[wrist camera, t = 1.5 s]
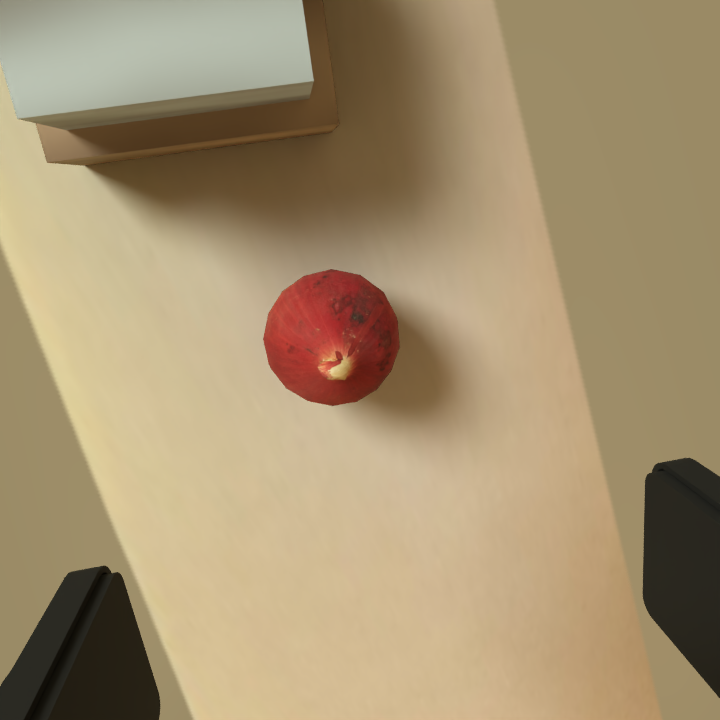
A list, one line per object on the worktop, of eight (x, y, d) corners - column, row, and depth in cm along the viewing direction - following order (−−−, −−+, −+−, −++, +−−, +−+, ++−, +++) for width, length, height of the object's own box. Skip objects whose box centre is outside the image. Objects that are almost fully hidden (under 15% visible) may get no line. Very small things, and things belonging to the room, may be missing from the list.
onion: (312, 235, 27) (321, 256, 19) (407, 303, 28) (450, 347, 21) (245, 334, 28) (229, 390, 20) (340, 394, 30) (358, 467, 22)
